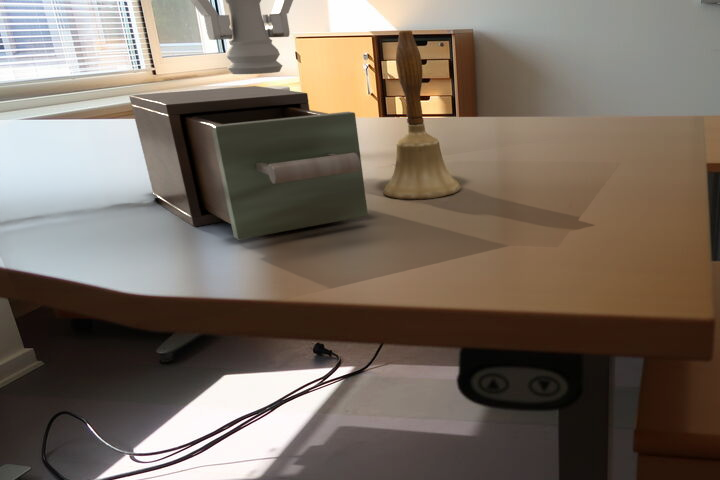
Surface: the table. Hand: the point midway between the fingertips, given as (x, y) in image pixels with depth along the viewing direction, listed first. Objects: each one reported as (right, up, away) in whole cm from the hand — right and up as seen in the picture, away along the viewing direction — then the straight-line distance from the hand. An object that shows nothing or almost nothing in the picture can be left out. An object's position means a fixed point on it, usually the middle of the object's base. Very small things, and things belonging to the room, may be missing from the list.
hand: (249, 38), depth 61 cm
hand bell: (+11, -9, +19) cm, 24 cm away
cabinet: (-8, -10, +16) cm, 20 cm away
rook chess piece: (0, -3, +1) cm, 3 cm away
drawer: (+1, -14, +5) cm, 15 cm away
